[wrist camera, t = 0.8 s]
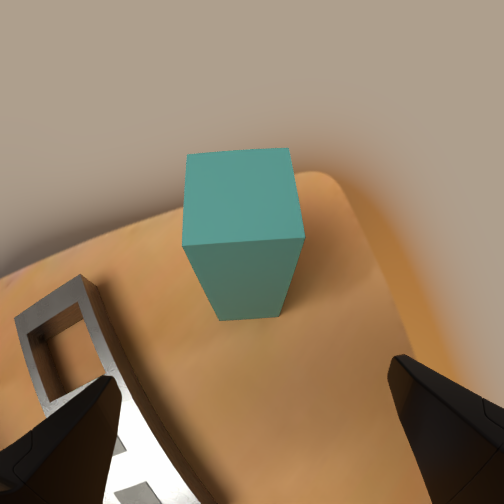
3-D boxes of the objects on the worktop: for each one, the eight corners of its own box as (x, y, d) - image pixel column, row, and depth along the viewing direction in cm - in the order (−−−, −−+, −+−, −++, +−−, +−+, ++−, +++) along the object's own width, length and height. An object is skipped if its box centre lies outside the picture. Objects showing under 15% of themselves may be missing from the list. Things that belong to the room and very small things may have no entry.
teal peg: (278, 316, 23) (305, 237, 11) (219, 320, 23) (182, 245, 11) (273, 262, 25) (288, 147, 13) (217, 266, 25) (187, 154, 13)
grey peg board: (221, 508, 16) (217, 524, 14) (140, 536, 15) (127, 550, 12) (96, 286, 24) (79, 273, 21) (33, 326, 22) (13, 317, 19)
